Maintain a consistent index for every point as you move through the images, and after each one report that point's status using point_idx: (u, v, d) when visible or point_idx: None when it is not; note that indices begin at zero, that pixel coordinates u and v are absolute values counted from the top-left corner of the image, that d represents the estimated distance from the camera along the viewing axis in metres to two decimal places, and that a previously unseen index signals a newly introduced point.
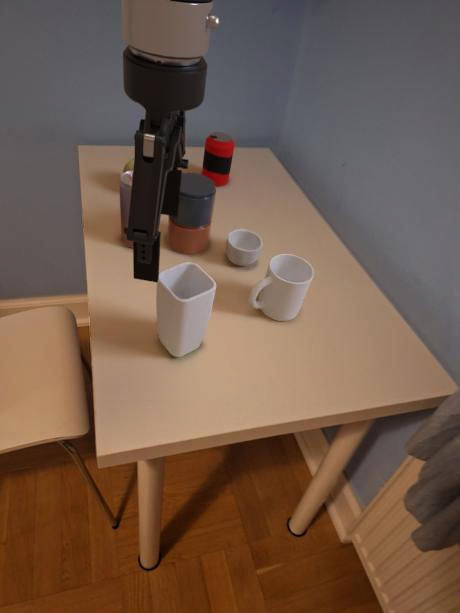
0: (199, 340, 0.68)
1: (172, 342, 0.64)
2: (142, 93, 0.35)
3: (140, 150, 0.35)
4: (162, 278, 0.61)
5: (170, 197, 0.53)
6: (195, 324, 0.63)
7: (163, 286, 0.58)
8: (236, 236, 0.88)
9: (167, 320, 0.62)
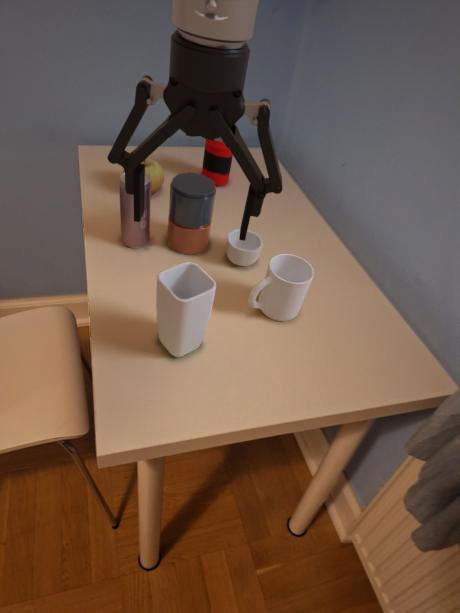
0: (199, 340, 0.68)
1: (172, 342, 0.64)
2: None
3: None
4: (162, 278, 0.61)
5: (243, 216, 0.51)
6: (195, 324, 0.63)
7: (163, 286, 0.58)
8: (236, 236, 0.88)
9: (167, 320, 0.62)
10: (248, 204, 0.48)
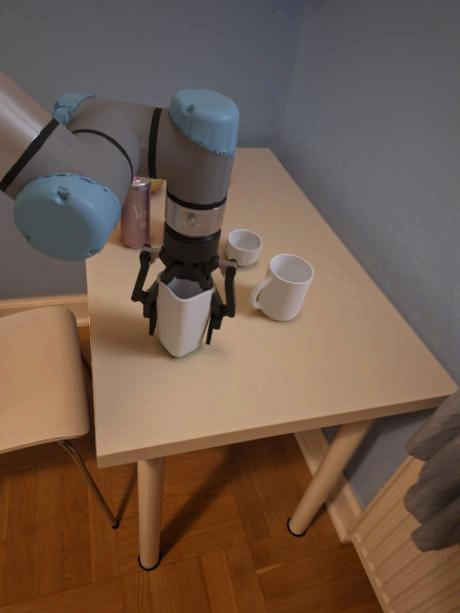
0: (199, 340, 0.68)
1: (172, 342, 0.64)
2: None
3: None
4: None
5: (208, 328, 0.67)
6: (195, 324, 0.63)
7: (163, 286, 0.58)
8: (236, 236, 0.88)
9: (167, 320, 0.62)
10: (210, 323, 0.64)
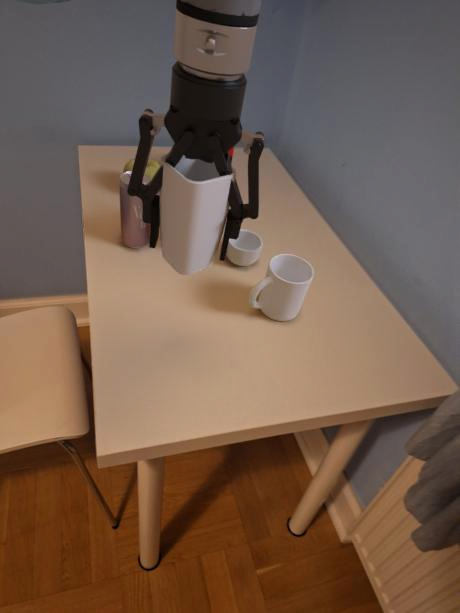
0: (211, 254, 0.55)
1: (178, 251, 0.52)
2: None
3: None
4: None
5: (223, 238, 0.54)
6: (208, 226, 0.50)
7: (169, 168, 0.46)
8: None
9: (173, 219, 0.49)
10: (226, 228, 0.51)
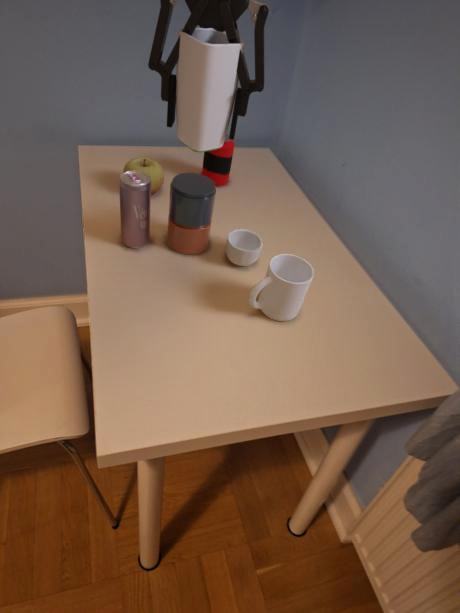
0: (222, 133, 0.61)
1: (192, 123, 0.58)
2: None
3: None
4: None
5: None
6: (219, 96, 0.56)
7: (185, 36, 0.52)
8: (236, 236, 0.88)
9: (188, 89, 0.56)
10: (235, 102, 0.58)
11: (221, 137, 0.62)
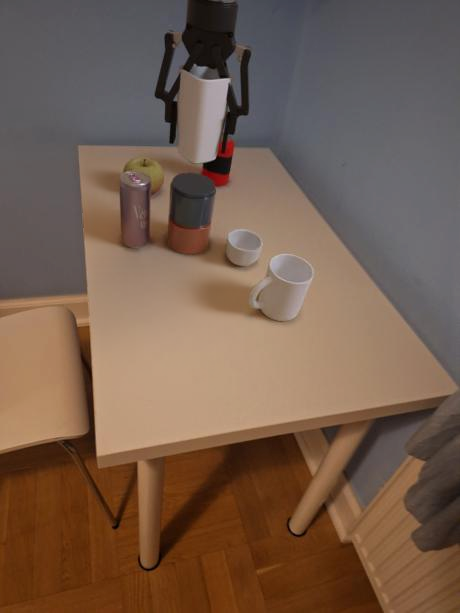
0: (215, 148, 0.74)
1: (191, 141, 0.71)
2: None
3: None
4: None
5: None
6: (212, 119, 0.69)
7: (185, 72, 0.65)
8: (236, 236, 0.88)
9: (187, 114, 0.68)
10: (226, 124, 0.71)
11: (214, 151, 0.74)
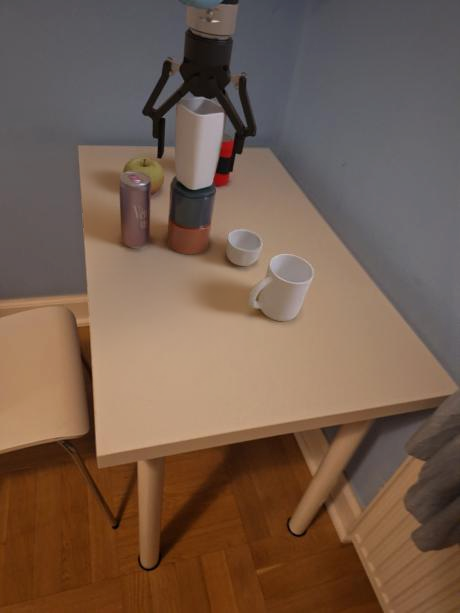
0: (211, 175, 0.78)
1: (188, 169, 0.75)
2: None
3: None
4: None
5: None
6: (208, 150, 0.73)
7: (182, 107, 0.69)
8: (236, 236, 0.88)
9: (184, 145, 0.72)
10: (234, 144, 0.73)
11: (210, 178, 0.78)
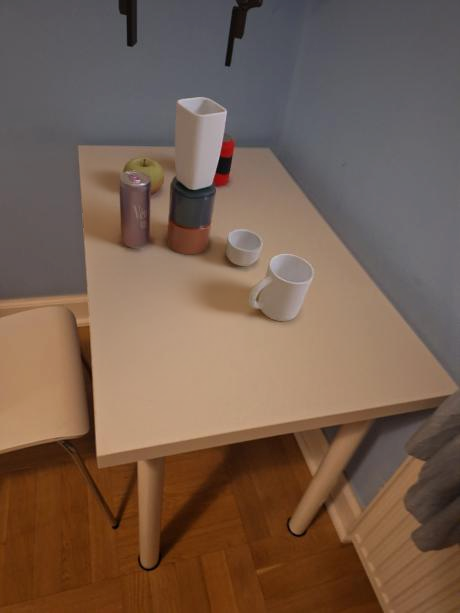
0: (211, 175, 0.78)
1: (188, 169, 0.75)
2: None
3: None
4: None
5: None
6: (208, 150, 0.73)
7: (182, 107, 0.69)
8: (236, 236, 0.88)
9: (184, 145, 0.72)
10: (232, 20, 0.53)
11: (210, 178, 0.78)
